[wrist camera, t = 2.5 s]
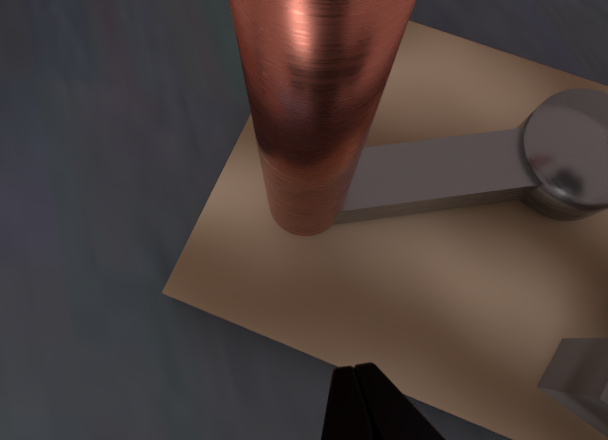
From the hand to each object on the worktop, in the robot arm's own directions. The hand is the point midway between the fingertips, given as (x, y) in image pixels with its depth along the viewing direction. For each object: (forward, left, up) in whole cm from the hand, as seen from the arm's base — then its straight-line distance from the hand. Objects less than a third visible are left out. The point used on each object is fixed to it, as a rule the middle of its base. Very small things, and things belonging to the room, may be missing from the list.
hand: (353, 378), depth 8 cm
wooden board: (+7, -4, -7) cm, 11 cm away
